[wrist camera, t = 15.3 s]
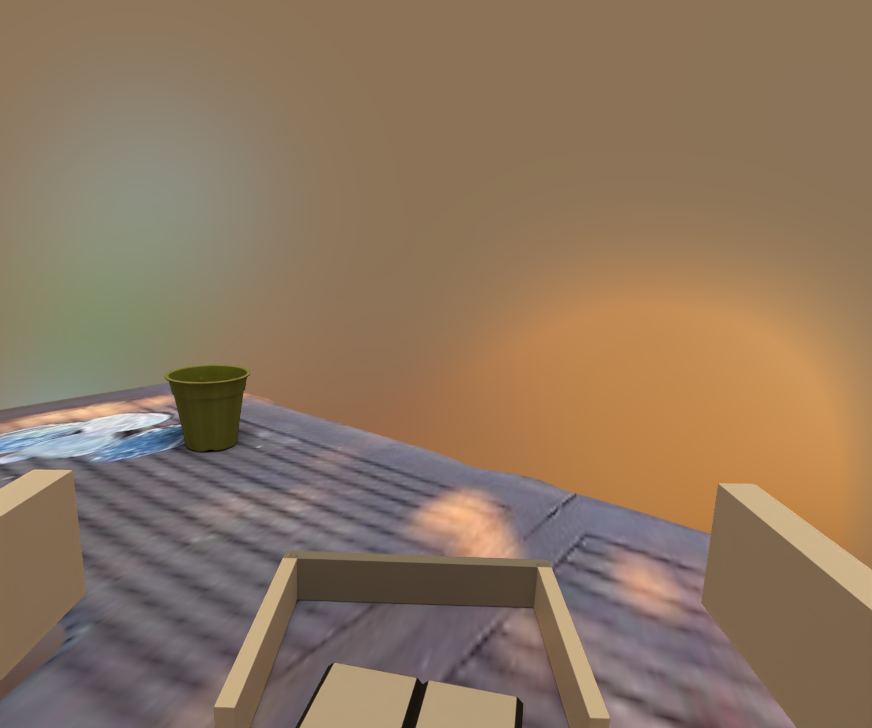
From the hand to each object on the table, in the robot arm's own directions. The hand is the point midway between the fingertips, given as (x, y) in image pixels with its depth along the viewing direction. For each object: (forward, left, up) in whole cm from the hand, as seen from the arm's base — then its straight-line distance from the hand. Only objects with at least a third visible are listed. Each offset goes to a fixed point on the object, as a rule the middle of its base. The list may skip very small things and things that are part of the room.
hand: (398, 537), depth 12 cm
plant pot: (+72, +31, -25) cm, 82 cm away
